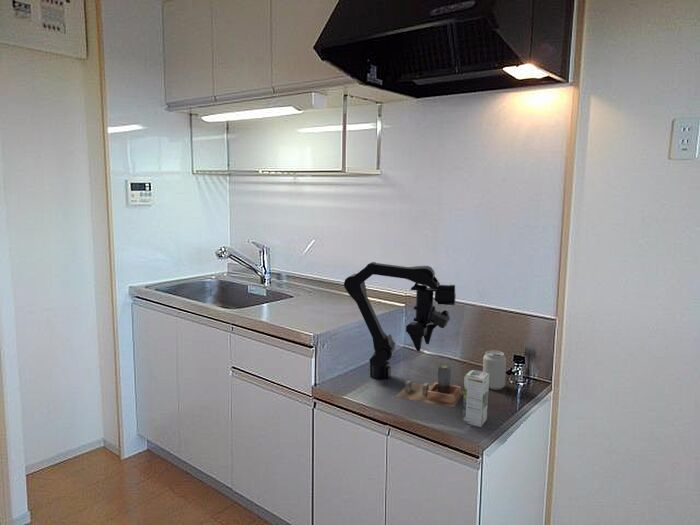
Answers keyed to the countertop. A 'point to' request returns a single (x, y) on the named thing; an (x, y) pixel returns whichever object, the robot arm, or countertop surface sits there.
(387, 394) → the countertop surface
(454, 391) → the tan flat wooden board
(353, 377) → the countertop surface
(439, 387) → the cell
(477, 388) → the syrup box
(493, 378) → the can
